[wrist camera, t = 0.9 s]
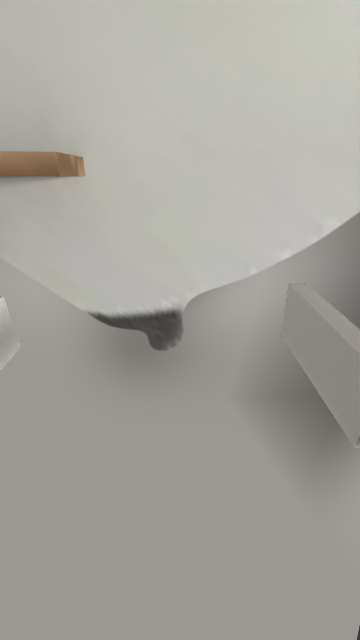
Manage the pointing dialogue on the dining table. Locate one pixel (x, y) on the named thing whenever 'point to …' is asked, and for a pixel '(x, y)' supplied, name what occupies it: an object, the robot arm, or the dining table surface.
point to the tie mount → (40, 164)
